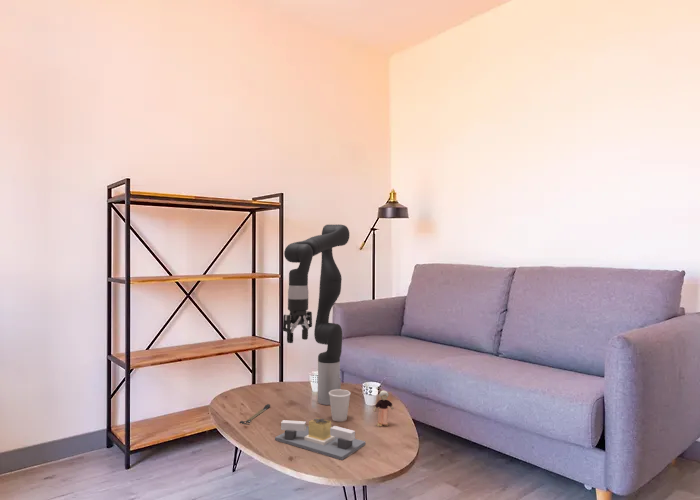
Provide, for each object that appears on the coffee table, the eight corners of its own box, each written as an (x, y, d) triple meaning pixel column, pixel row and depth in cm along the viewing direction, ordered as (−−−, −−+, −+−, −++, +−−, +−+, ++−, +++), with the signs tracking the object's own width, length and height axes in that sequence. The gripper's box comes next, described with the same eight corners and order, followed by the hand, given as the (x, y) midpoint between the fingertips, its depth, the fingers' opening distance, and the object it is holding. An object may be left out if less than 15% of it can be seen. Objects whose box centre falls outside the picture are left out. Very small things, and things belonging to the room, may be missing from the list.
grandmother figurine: (377, 428, 169) (377, 393, 169) (372, 424, 173) (372, 390, 173) (395, 424, 173) (395, 390, 173) (389, 421, 176) (390, 387, 176)
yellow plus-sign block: (331, 436, 157) (331, 420, 157) (323, 440, 153) (323, 424, 153) (316, 432, 160) (316, 416, 160) (308, 436, 156) (308, 420, 156)
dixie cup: (325, 416, 181) (326, 390, 181) (346, 414, 184) (346, 388, 184) (331, 423, 173) (332, 396, 173) (353, 421, 176) (353, 394, 176)
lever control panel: (275, 440, 158) (275, 421, 158) (301, 427, 169) (301, 410, 169) (341, 460, 143) (342, 439, 143) (365, 444, 155) (365, 425, 155)
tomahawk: (254, 428, 170) (255, 425, 170) (238, 424, 173) (239, 421, 172) (280, 409, 190) (281, 406, 190) (266, 406, 192) (266, 403, 192)
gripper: (293, 299, 167) (293, 345, 166) (317, 296, 179) (317, 339, 178) (277, 298, 171) (277, 343, 171) (302, 295, 183) (301, 337, 183)
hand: (297, 341), depth 174 cm, fingers open, 8 cm apart
